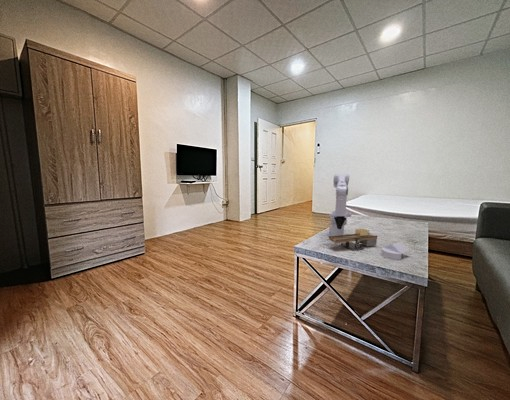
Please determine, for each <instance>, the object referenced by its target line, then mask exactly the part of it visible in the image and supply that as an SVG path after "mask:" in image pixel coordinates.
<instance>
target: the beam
mask: <svg viewBox="0 0 510 400" xmlns="http://www.w3.org/2000/svg"><path fill="white" fill-rule="evenodd" d="M358 238H359V239H360V242H359V244H361V245H363V246H365V247H372V246H377V242H378V241H377V240H378V235H373V234H371V233H370V232H369V234H368V236H367V237H357V236H355V233H352V234H349V235H347V234H344V235H339V236H328V240H329V241H331V242H332V243H335V244H341V243H346V242H352V243H353V242H356V239H358Z"/></svg>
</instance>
